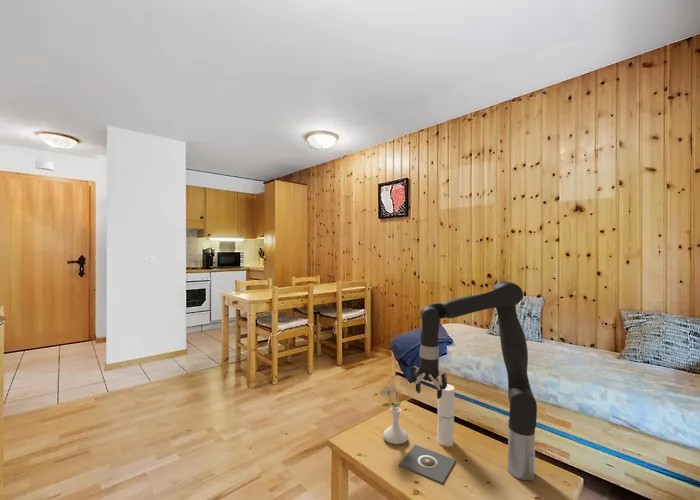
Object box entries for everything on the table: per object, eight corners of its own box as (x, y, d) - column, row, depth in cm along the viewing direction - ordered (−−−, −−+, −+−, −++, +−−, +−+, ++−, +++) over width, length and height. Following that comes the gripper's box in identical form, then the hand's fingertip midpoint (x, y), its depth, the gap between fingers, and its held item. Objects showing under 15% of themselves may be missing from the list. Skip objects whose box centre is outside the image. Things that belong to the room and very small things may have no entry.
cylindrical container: (450, 448, 146) (451, 391, 145) (434, 442, 150) (435, 387, 150) (455, 440, 151) (456, 386, 151) (440, 435, 156) (441, 382, 155)
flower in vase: (407, 433, 157) (407, 380, 157) (409, 447, 146) (409, 391, 145) (379, 431, 159) (380, 379, 158) (379, 445, 147) (379, 389, 147)
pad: (455, 461, 137) (455, 458, 137) (442, 484, 124) (442, 481, 124) (414, 445, 147) (414, 443, 147) (398, 465, 134) (398, 463, 134)
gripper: (449, 356, 134) (448, 396, 134) (416, 349, 142) (415, 387, 142) (443, 362, 128) (442, 403, 128) (409, 354, 136) (408, 394, 136)
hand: (428, 395), depth 135 cm, fingers open, 8 cm apart
